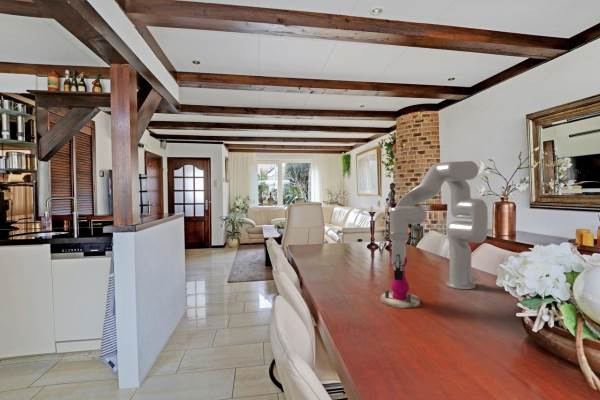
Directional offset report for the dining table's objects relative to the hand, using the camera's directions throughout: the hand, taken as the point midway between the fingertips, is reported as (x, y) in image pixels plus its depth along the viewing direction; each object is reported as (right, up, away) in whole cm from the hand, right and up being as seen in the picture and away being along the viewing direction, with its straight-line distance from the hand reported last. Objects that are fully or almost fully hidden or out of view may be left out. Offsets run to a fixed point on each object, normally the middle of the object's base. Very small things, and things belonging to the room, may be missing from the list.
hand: (399, 277), depth 135 cm
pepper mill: (0, -9, 0) cm, 9 cm away
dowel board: (0, -10, 0) cm, 10 cm away
